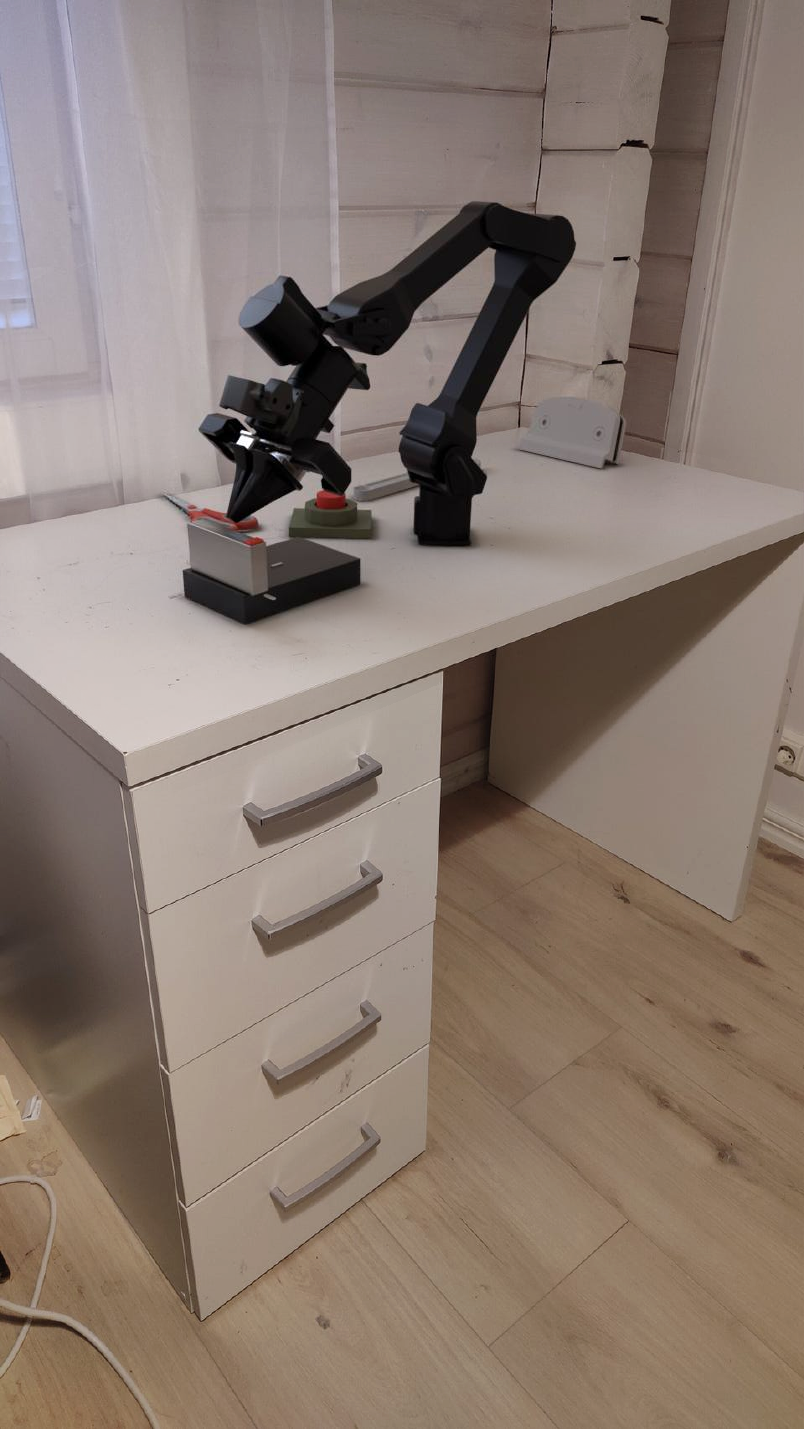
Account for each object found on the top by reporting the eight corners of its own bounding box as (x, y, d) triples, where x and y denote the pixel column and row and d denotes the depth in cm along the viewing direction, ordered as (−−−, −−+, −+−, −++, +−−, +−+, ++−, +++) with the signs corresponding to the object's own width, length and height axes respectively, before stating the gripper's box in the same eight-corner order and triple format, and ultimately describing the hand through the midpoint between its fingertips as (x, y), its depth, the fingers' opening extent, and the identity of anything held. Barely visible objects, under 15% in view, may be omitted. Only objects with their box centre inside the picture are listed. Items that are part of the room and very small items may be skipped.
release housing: (371, 518, 131) (371, 496, 129) (370, 538, 124) (370, 514, 122) (294, 517, 130) (293, 494, 129) (288, 536, 123) (288, 513, 122)
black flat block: (130, 606, 103) (127, 577, 101) (290, 558, 116) (290, 532, 115) (217, 649, 94) (215, 617, 93) (378, 591, 108) (378, 563, 107)
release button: (346, 503, 127) (346, 489, 126) (345, 512, 124) (345, 498, 123) (317, 502, 127) (317, 489, 126) (315, 511, 124) (315, 497, 123)
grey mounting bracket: (516, 448, 165) (534, 387, 163) (532, 454, 169) (549, 393, 167) (602, 468, 155) (622, 403, 153) (617, 474, 159) (636, 410, 157)
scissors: (166, 494, 138) (165, 484, 137) (269, 529, 126) (268, 518, 125) (118, 505, 133) (117, 494, 132) (220, 543, 121) (220, 531, 120)
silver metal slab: (190, 569, 104) (186, 520, 101) (206, 565, 105) (202, 516, 103) (252, 595, 98) (250, 544, 95) (268, 590, 99) (266, 539, 97)
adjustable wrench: (362, 503, 137) (362, 490, 136) (332, 493, 141) (332, 480, 140) (487, 472, 152) (487, 460, 151) (456, 464, 156) (456, 452, 155)
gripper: (207, 333, 105) (126, 456, 103) (330, 356, 94) (242, 495, 92) (268, 401, 113) (194, 516, 112) (387, 430, 102) (308, 558, 100)
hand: (231, 520), depth 104 cm, fingers closed
